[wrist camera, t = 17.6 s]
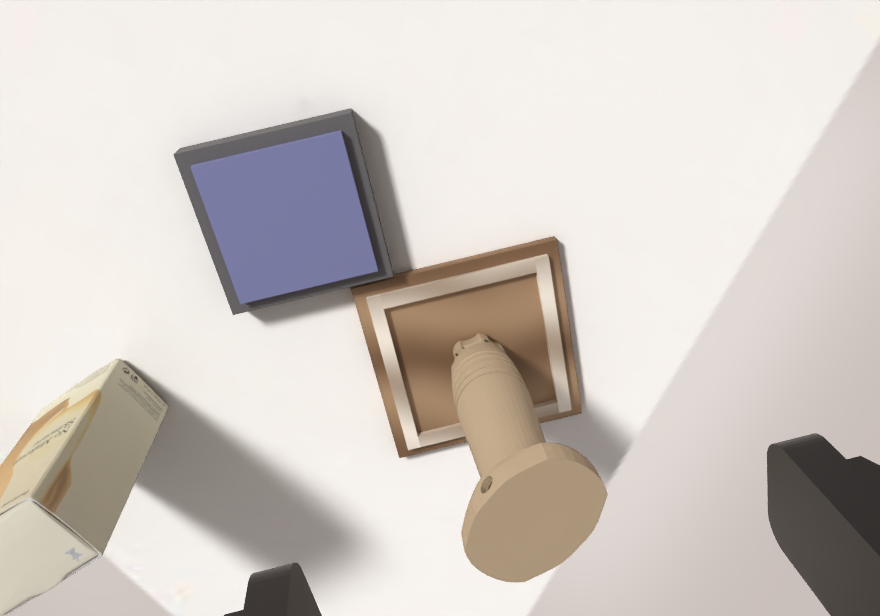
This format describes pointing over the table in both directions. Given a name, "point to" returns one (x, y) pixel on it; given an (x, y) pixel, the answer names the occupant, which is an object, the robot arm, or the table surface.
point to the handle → (517, 472)
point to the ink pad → (287, 211)
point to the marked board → (467, 336)
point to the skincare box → (72, 480)
